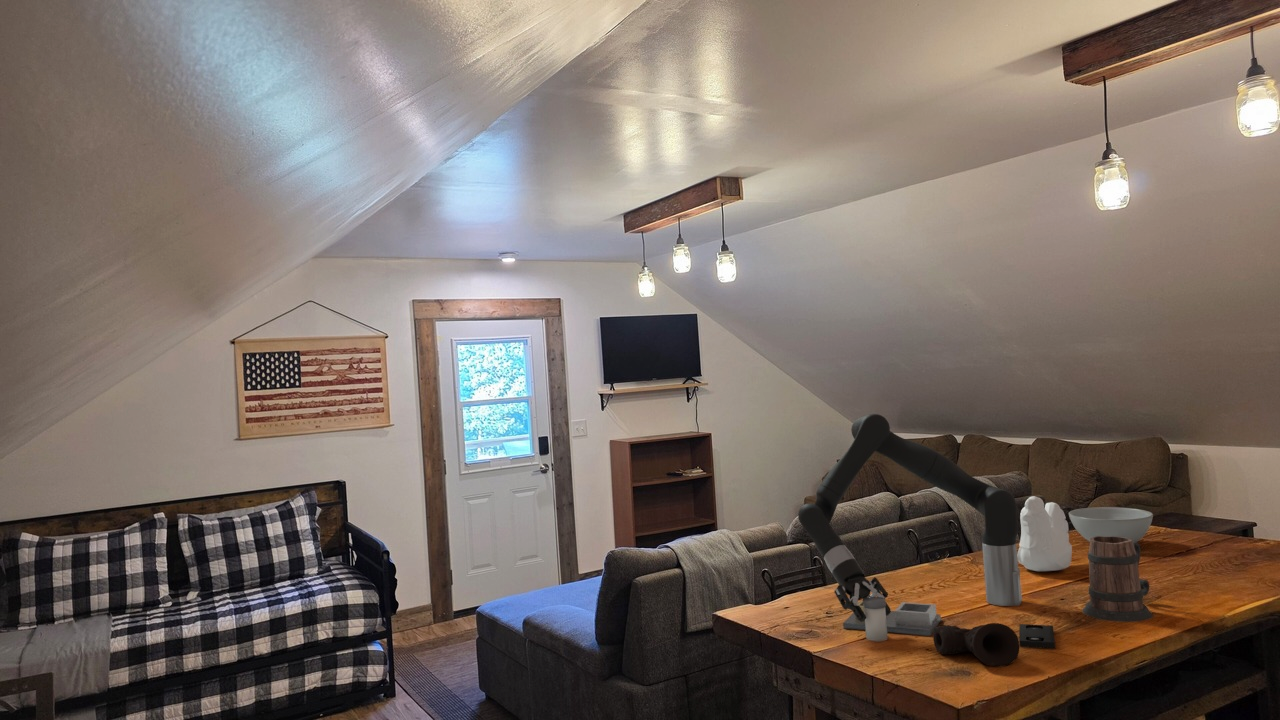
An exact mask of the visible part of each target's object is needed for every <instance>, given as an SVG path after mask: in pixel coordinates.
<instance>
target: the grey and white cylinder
mask: <svg viewBox="0 0 1280 720" xmlns="http://www.w3.org/2000/svg"><path fill="white" fill-rule="evenodd" d="M862 601H863V607H864V614H865V615H866V619H865V628H866V630H865V638H866V640H868V641H871V642H885V641H886V640H888V632H887V625H886V611H885V607H886V603H887V600H886V598H885V599H884V598H881V597H876V596H875V597H867V598H864V599H862Z"/></svg>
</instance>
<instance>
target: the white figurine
mask: <svg viewBox="0 0 1280 720" xmlns="http://www.w3.org/2000/svg"><path fill="white" fill-rule="evenodd" d="M1066 517H1067V516H1066V515H1065V512H1064V510H1063V509H1062V508H1061V507H1060V505H1059V504H1058V503H1056V502H1052V501H1051V502H1046V503H1044V501H1043V499H1042V498H1040V497H1039V496H1035V495H1032V496H1029V497H1028V498H1027V499H1026V500H1025V503H1024V507H1022V509H1021V510H1020V516H1019V518H1020V519H1019V520H1020V530H1021V531H1020V533H1021V534H1020V541H1019V544H1018V545H1019V548H1018V549H1017V559H1018V564H1020V565H1023V566H1024V567H1025V569H1028V570H1030V571H1035V572H1052V571H1060V570H1061V571H1062V570H1065V569H1068V568H1069V567H1070V565H1071V564H1072V563H1071V562H1072V554H1073V551H1072V550H1073V546H1072V544H1071V543H1070V542H1069V541H1070V537H1069V536H1070V534H1069V533H1068V532H1069V523H1068V521H1067V520H1066V519H1067V518H1066Z"/></svg>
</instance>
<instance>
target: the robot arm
mask: <svg viewBox="0 0 1280 720" xmlns="http://www.w3.org/2000/svg"><path fill="white" fill-rule="evenodd" d="M850 429H851V435H852V438H853V442H852V443H851V445H850V446H849V448H848V449H847V451H845V453H844V454H843V456H842V457H841V458H840V459H839V460H838V461H837V462H836V463H835V464H834V465H833V466H832V468H831V469H830V470H829V472H828V473H827V474H826V476H825V477H824V478H823V480H822V482H821V484H820V485H819V487H818V488H817V489H816V492H815V493H816V500H815V501H814V503H806V504H803V505H802V506H801V507H800V508H799V510H798V513H797V517H798V521H799V523H800V525H801V526H802V528H803V529H804V530H805V532H806V533H807V535H808V536H809V537H810V539H811V540H812V541H813V543H814V545H815V546H816V548H817V551H818V553H820V555H821V556H822V558H823V560H824V561H825V564H826V566H827V568H828V570H829V571H830V572H831V575H832V576H833V577H834V579H835V581H836V582H837V584H838V586H837V587H836V588H835V590H834V591H833V592H834V594H835V596H836V598H837V600H838V601H839V604H840V605H841V606H842V608H843V610H845V611H846V610H850V611H852V614H853V613H854V614H855V615H856V617H857V619H858V620H860V622H863V621H864V620H865V619H866V615H865V614H864V612H863V611H862V609H861V608H860V606H857V605H858V603H859V601H861V600H863V599H864V598H867V597H881V598H884V599H885V600H886V599H887V597H888V596H889V594H888V592H887V591H886V589H885V588H884V585H882V584H881V582H880V581H879V579H878V578H877V577H873V578H872V579H870V580H868V579H867V578H866V577H865V572H864V570H863V569H862V567H861V566H860V564H859V562H858V561H857V560H856V558H855V557H854V555H853V553H852V552H851V551H850V550H849V549H848V547H847V546H846V545H845V543H844V542H843V540H842V539H841V537H840V536H839V535H838V533H837V532H836V531H835V530H834V529H833V527H832V526H831V521H832V519H833V517H834V515H835V512H836V509H837V506H838V504H839V502H841V500H842V499H843V497H844V496H845V495H846V492H847V491H848V490H849V488H850V486H851V485H852V483H853V481H855V478H856V477H857V475H858V474H859V472H860V471H861V469H863V467H864V465H865V464H866V462H867V461H868V460H869V459H870V458H871V457H872V456H873V454H874V453H878V454H880V455H882V456H884V457H886V458H887V459H890V460H891V461H893V462H894V463H895V464H898V465H899V466H900V467H902V469H905V470H906V471H908V472H910V473H911V474H912V475H915V476H916V477H918V478H919V479H921V480H923V481H924V482H926V483H928V484H930V485H932V486H934V487H935V488H937V489H940V490H942V491H944V492H947V493H949V494H951V495H953V496H955V497H957V498H959V499H960V500H962V501H964V502H965V503H967V505H969V506H971V507H972V508H974V509H975V510H976V511H977V512H979V513H980V514H981V515H982V516H984V521H985V522H984V525H985V526H984V527H985V528H984V531H983V532H982V533H981V545H982V557H983V559H982V561H983V571H984V583H985V584H984V586H985V597H986V602H987V604H990V605H994V606H1002V607H1012V606H1020V605H1021V604H1022V600H1023V597H1022V585H1021V583H1022V582H1021V574H1020V573H1021V570H1020V567H1019V562H1018V559H1017V554H1018V549H1017V548H1018V547H1017V535H1018V532H1019V527H1018V525H1019V523H1018V520H1019V519H1018V506H1017V502H1016V498H1015V497H1014V495H1013V494H1012V493H1011V492H1009V491H1008V490H1005V489H1003V488H999V487H996V486H993V485H991V484H987V483H985V482H984V481H982V480H979V479H977V478H975V477H973V476H971V475H970V474H968V473H967V472H966V471H965V470H963V469H962V467H960V466H959V465H958V464H957V463H956V462H954V461H953V460H952V459H950V458H948V457H947V456H945V455H943V454H942V453H940V452H938V451H936V450H935V449H932V448H931V447H929V446H926V445H924V444H921V443H918V442H915V441H912V440H910V439H906V438H903V437H901V436H899V435H898V434H896V433H894V432H893V431H891V427H890V423H889V421H888V420H887V419H886V418H885V416H883V415H882V414H881V415H880V414H879V413H871V414H866V415H863V416H860V417H859V418H857V419H855V421H854V422H853V423H852V425H851V428H850ZM885 611H886V616H887V615H889V614H890V612H891V611H892V609H891V608H890V606H889V604H888V603H887V602H886V607H885Z"/></svg>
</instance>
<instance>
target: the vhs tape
mask: <svg viewBox="0 0 1280 720" xmlns="http://www.w3.org/2000/svg"><path fill="white" fill-rule="evenodd" d="M1018 625H1019V626H1018V627H1019V629H1018V630H1019V631H1018V632H1019V633H1018V634H1019V636H1018V640H1019V648H1020V647H1021V648H1034V649H1050V650H1055V649H1056V643H1055V642H1056V641H1055V640H1056V639H1055V633H1054V626H1053V625H1045V624H1043V625H1042V624H1026V623H1025V624H1024V623H1020V624H1018ZM1027 638H1028V639H1027ZM1042 639H1043V640H1042Z"/></svg>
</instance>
